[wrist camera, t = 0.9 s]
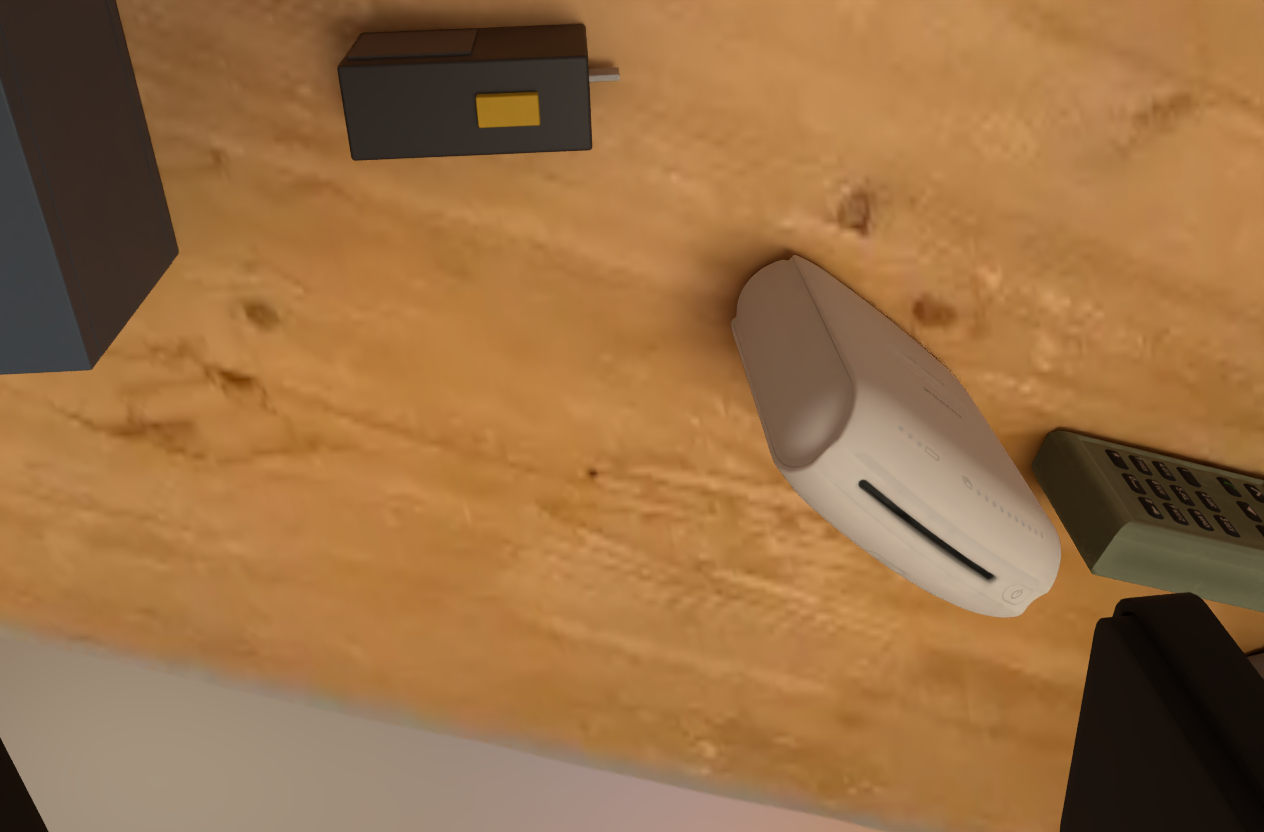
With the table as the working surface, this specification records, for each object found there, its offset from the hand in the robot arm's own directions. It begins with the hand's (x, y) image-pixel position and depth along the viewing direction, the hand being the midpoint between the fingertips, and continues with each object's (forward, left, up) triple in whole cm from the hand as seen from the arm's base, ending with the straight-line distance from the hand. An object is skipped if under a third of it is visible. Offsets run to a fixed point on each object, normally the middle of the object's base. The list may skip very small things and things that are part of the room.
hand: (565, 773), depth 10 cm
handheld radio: (+21, +30, -31) cm, 48 cm away
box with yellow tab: (+1, -3, -31) cm, 31 cm away
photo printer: (+12, +10, -31) cm, 35 cm away
